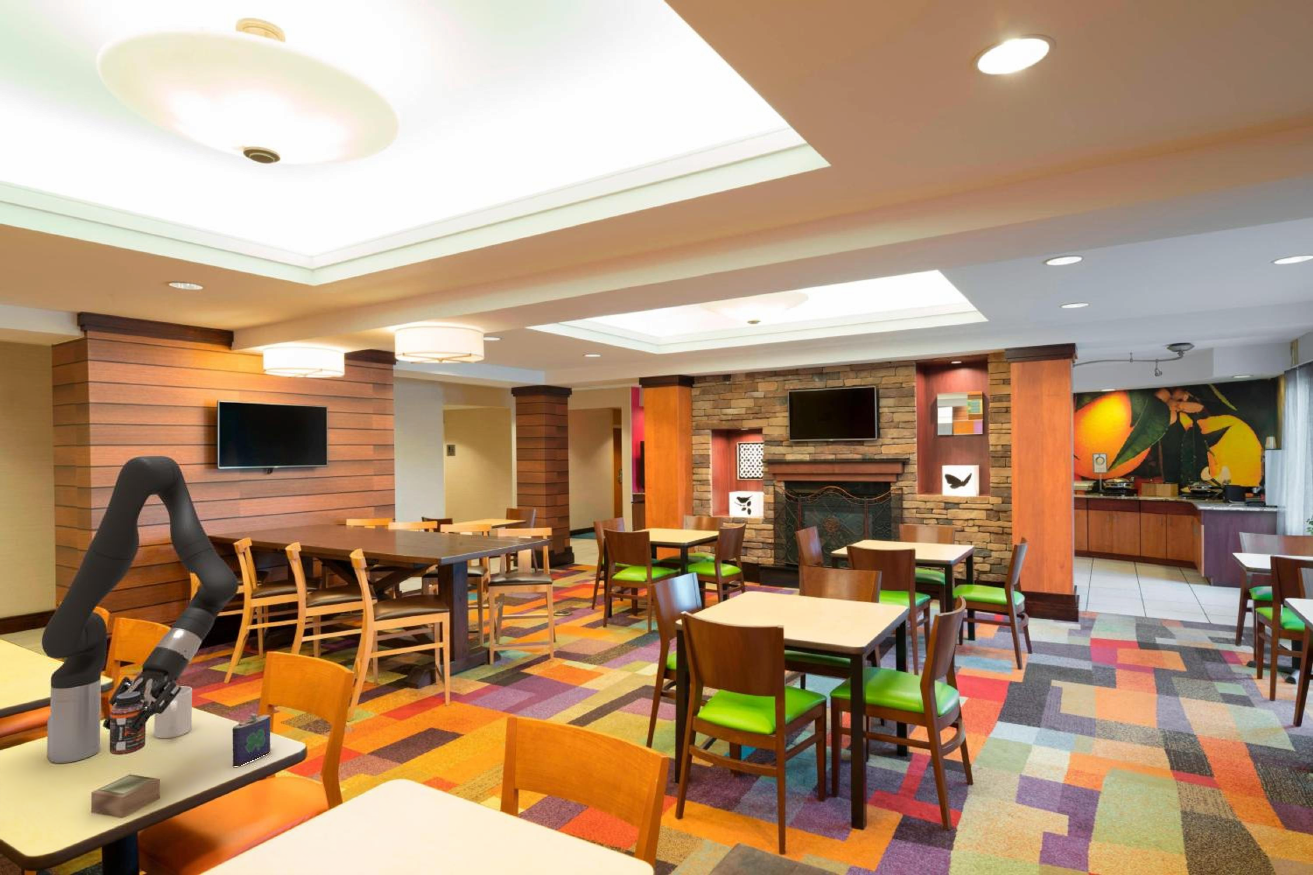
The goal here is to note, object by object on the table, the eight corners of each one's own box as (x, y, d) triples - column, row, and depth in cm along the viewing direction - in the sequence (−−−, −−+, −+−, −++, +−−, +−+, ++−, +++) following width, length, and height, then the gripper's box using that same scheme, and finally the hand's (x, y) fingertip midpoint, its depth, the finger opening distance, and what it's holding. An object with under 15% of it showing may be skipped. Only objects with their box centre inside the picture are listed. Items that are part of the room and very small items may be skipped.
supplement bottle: (126, 757, 142) (126, 700, 142) (101, 754, 143) (102, 698, 143) (153, 744, 148) (153, 690, 148) (129, 742, 149) (129, 688, 149)
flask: (265, 750, 171) (266, 705, 171) (274, 752, 170) (274, 707, 170) (229, 766, 163) (230, 719, 163) (238, 768, 161) (238, 721, 161)
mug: (154, 730, 182) (155, 689, 182) (191, 723, 187) (191, 684, 187) (153, 747, 172) (154, 704, 172) (192, 740, 177) (192, 697, 177)
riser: (91, 812, 142) (91, 791, 142) (129, 793, 150) (130, 773, 150) (122, 817, 140) (122, 796, 140) (159, 797, 148) (160, 777, 148)
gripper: (135, 643, 154) (78, 718, 143) (188, 647, 151) (134, 725, 139) (158, 660, 159) (104, 734, 148) (209, 665, 156) (159, 741, 144)
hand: (119, 729), depth 144 cm, fingers closed on supplement bottle, 6 cm apart
